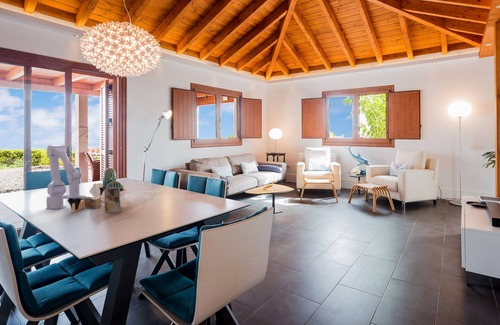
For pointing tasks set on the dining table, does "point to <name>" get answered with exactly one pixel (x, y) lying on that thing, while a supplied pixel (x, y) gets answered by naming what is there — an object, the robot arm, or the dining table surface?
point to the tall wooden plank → (81, 206)
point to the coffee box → (112, 200)
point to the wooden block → (92, 202)
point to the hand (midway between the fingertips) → (74, 209)
